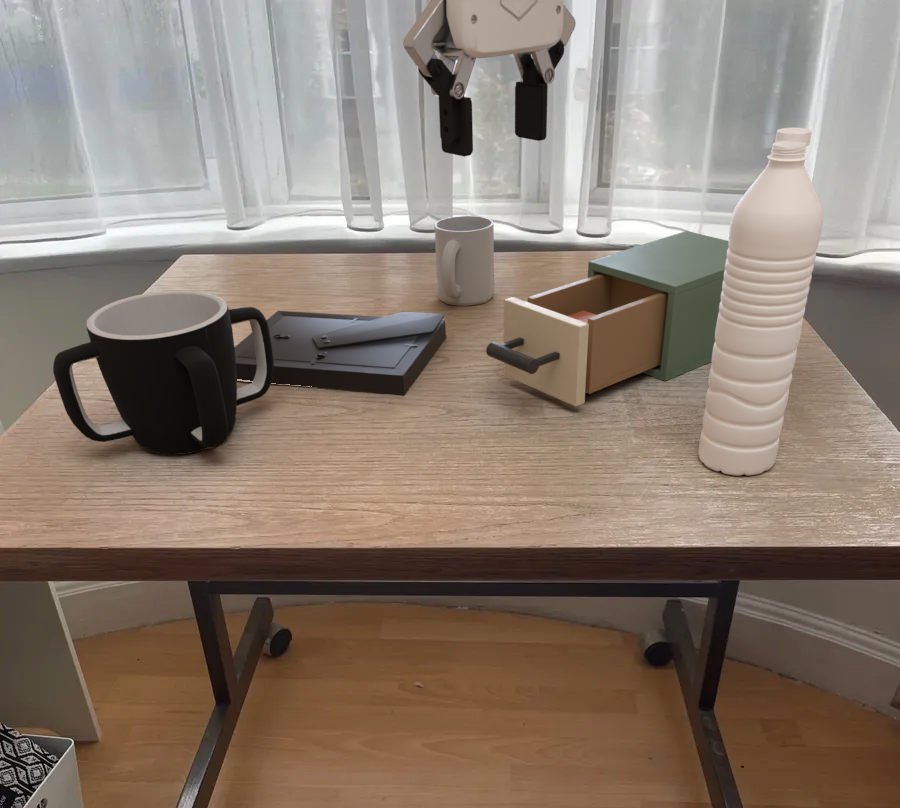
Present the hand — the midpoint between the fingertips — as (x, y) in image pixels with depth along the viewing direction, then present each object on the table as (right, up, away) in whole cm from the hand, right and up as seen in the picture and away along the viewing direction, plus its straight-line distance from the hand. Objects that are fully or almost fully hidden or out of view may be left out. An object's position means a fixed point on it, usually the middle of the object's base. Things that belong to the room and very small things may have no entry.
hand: (494, 144), depth 73 cm
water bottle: (+22, -24, +7) cm, 33 cm away
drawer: (+9, -14, +19) cm, 25 cm away
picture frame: (-16, -10, +27) cm, 33 cm away
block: (+10, -13, +19) cm, 25 cm away
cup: (-2, +1, +41) cm, 41 cm away
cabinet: (+21, -9, +27) cm, 35 cm away
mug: (-29, -21, +14) cm, 38 cm away
